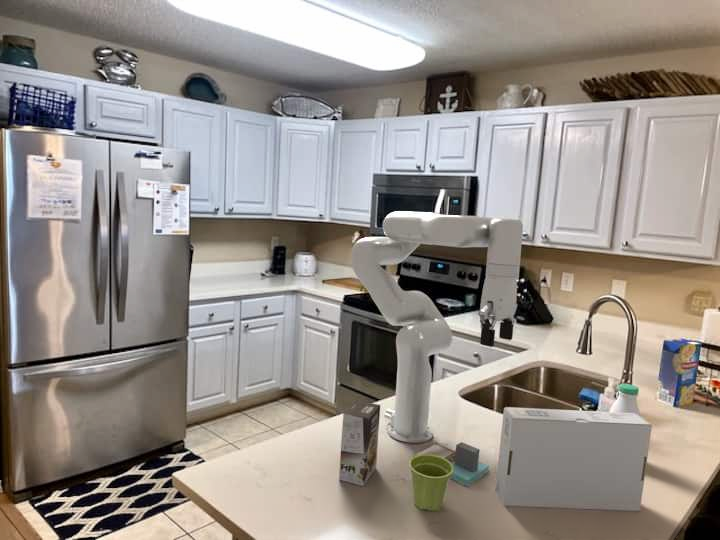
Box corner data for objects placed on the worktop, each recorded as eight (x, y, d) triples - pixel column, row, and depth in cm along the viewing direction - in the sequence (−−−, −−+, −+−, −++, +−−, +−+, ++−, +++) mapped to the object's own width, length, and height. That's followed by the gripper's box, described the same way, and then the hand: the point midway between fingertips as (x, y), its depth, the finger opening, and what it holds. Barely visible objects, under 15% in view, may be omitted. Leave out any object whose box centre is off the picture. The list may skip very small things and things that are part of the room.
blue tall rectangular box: (692, 403, 180) (701, 343, 178) (674, 407, 175) (683, 345, 173) (673, 396, 186) (682, 338, 184) (655, 399, 181) (663, 340, 179)
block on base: (441, 474, 121) (444, 448, 120) (463, 460, 128) (465, 436, 127) (467, 486, 116) (469, 459, 115) (488, 471, 123) (491, 446, 123)
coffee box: (364, 487, 113) (368, 418, 111) (337, 480, 115) (342, 412, 113) (377, 468, 122) (381, 404, 120) (352, 462, 124) (356, 399, 122)
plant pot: (459, 508, 107) (462, 470, 106) (425, 521, 102) (428, 481, 101) (430, 486, 115) (433, 451, 114) (397, 497, 110) (400, 460, 109)
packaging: (624, 495, 117) (636, 413, 114) (640, 511, 110) (652, 424, 108) (495, 490, 115) (503, 406, 113) (503, 506, 109) (512, 418, 107)
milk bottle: (599, 457, 135) (608, 385, 132) (608, 448, 140) (617, 378, 138) (630, 468, 130) (641, 393, 127) (639, 458, 135) (649, 387, 133)
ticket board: (413, 460, 126) (413, 454, 126) (435, 448, 134) (436, 442, 134) (440, 473, 121) (440, 467, 121) (461, 459, 128) (462, 453, 128)
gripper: (503, 267, 128) (498, 333, 130) (470, 271, 115) (464, 344, 117) (532, 271, 123) (526, 339, 125) (500, 275, 110) (494, 351, 112)
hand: (496, 342), depth 121 cm, fingers open, 9 cm apart
